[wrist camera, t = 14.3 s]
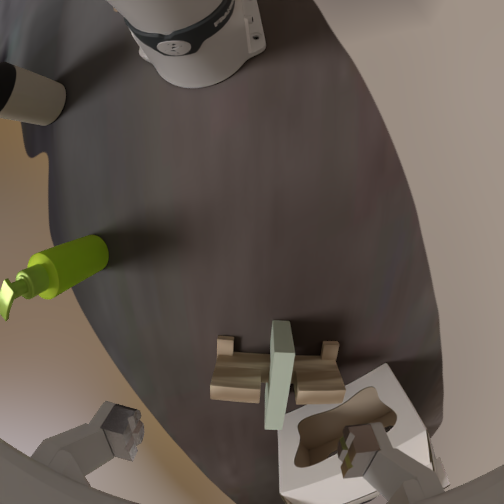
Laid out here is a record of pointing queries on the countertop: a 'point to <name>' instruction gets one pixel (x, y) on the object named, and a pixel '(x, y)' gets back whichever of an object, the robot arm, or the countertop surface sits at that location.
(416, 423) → the gable box
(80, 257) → the soap dispenser
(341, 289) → the countertop surface
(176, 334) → the countertop surface
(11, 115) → the travel mug
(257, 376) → the wooden peg bench
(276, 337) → the grey-green rectangular slab
